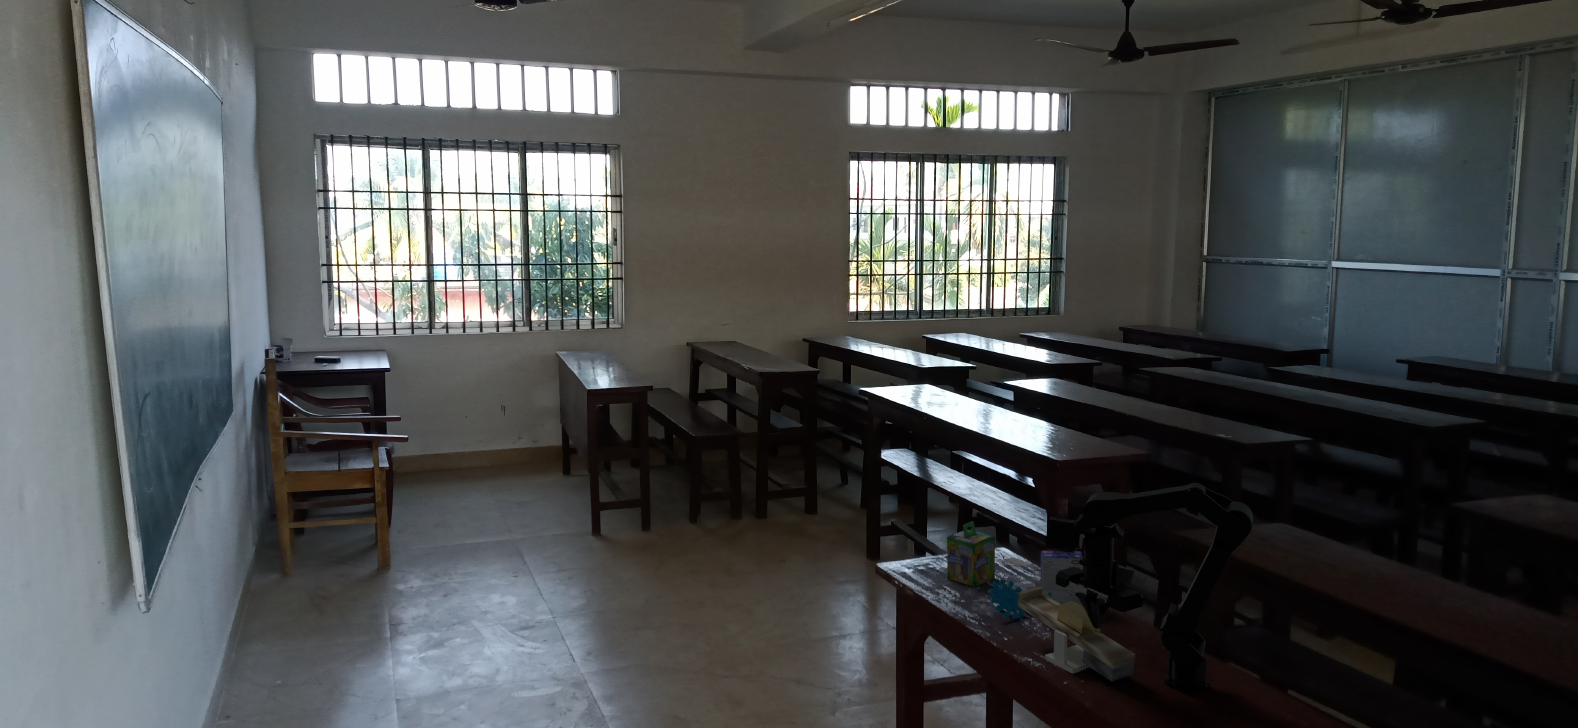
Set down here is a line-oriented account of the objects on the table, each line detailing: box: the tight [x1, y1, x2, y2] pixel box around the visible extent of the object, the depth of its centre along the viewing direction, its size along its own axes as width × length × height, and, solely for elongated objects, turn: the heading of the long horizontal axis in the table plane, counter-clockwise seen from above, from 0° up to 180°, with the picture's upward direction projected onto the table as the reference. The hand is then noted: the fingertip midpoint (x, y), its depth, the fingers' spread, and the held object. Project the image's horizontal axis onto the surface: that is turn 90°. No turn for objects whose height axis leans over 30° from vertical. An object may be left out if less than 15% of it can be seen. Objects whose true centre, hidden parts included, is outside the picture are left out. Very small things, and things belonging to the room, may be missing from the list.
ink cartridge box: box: [1040, 550, 1084, 607], centre depth 247 cm, size 10×6×14 cm, turn 78°
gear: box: [988, 578, 1027, 620], centre depth 243 cm, size 11×6×10 cm
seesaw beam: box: [1018, 585, 1137, 683], centre depth 217 cm, size 28×8×6 cm, turn 30°
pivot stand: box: [1044, 630, 1101, 675], centre depth 216 cm, size 8×10×7 cm
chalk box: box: [946, 520, 996, 588], centre depth 264 cm, size 9×9×15 cm
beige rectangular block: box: [1057, 601, 1095, 637], centre depth 216 cm, size 7×4×4 cm, turn 30°
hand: (1097, 627), depth 211 cm, fingers closed
